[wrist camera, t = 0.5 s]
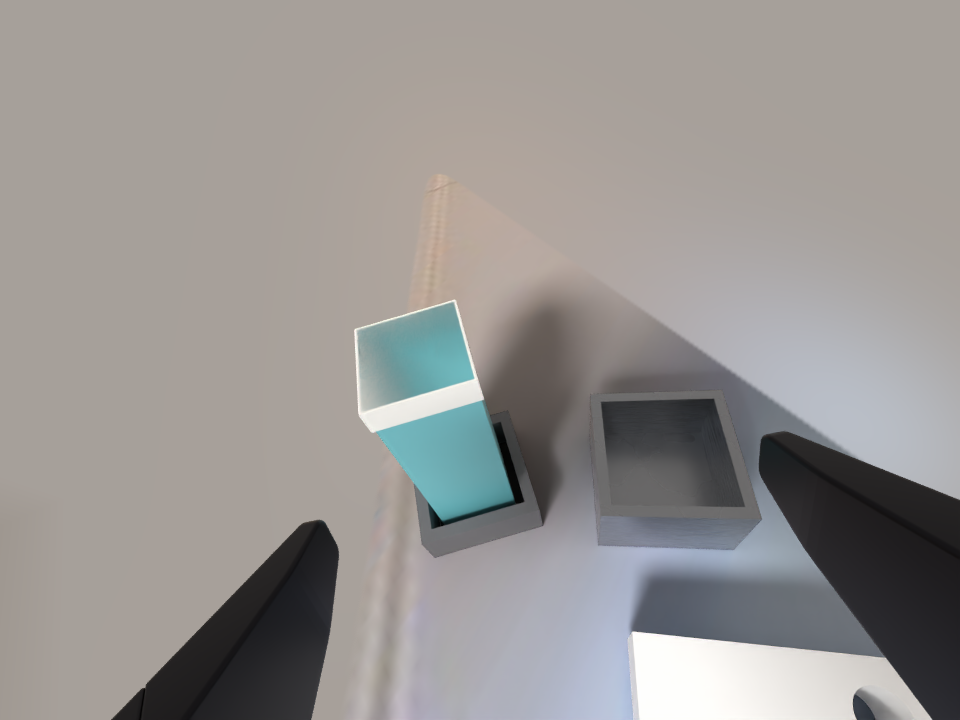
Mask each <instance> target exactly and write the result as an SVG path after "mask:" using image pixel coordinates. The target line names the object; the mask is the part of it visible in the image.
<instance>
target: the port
mask: <svg viewBox="0 0 960 720" xmlns="http://www.w3.org/2000/svg"><path fill="white" fill-rule="evenodd" d="M590 447H591V460H592V472H593V485H594V498H595V510H596V523H597V536H598V545H603V546H634V547H665V548H696V549H727V550H734V549H735V548H736V547H737V546H738V545H739V543H740V542H741V541H742V540H743V539H744V538H745V537H746V536H747V535H748V534H749V533H750V532H751V531H752V529H753V528H754V527H755V526H756V525H757V524H758V523H759V522H760V521H761V520H762V518H761V514H760V511H759V508H758V505H757V501H756V498H755V495H754V492H753V488H752V485H751V482H750V479H749V475H748V472H747V469H746V466H745V462H744V459H743V456H742V453H741V449H740V446H739V443H738V440H737V436H736V433H735V430H734V427H733V423H732V420H731V417H730V414H729V410H728V407H727V404H726V401H725V397H724V394H723V391H722V390H702V391H671V392H640V393H610V394H590Z"/></svg>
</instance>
